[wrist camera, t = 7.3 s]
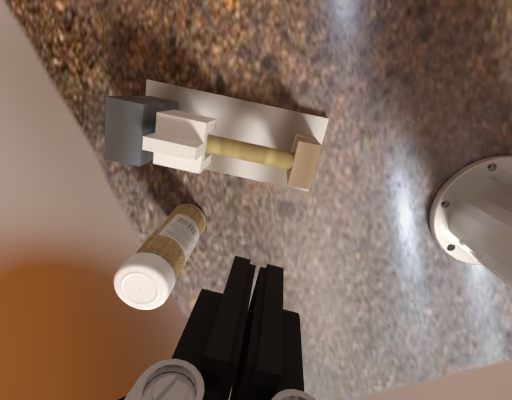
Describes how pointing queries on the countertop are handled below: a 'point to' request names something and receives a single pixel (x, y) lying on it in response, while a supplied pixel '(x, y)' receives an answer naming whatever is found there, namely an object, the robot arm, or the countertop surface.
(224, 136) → the linear actuator
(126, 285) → the sprinkles bottle
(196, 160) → the sleeve
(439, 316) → the countertop surface
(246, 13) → the countertop surface
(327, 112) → the countertop surface
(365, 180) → the countertop surface
